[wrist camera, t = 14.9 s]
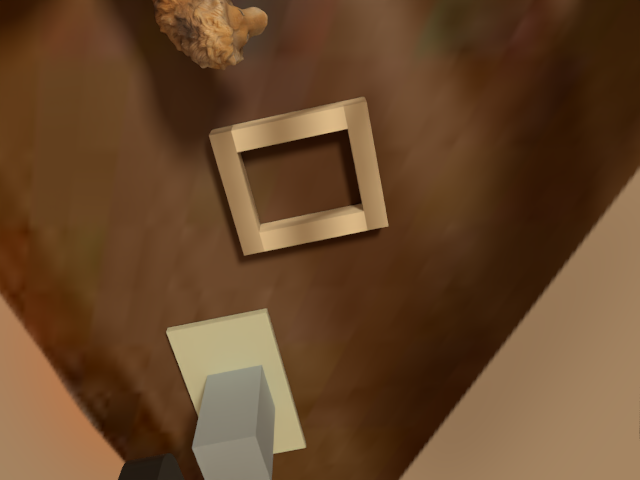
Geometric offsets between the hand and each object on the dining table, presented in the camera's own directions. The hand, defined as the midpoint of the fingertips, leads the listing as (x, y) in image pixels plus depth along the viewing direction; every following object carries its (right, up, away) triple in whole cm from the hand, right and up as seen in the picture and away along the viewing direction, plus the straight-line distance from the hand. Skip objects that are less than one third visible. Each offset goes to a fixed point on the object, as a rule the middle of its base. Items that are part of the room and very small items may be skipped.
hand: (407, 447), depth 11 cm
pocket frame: (-3, +8, +33) cm, 34 cm away
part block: (-8, -9, +40) cm, 41 cm away
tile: (-8, -9, +40) cm, 42 cm away
